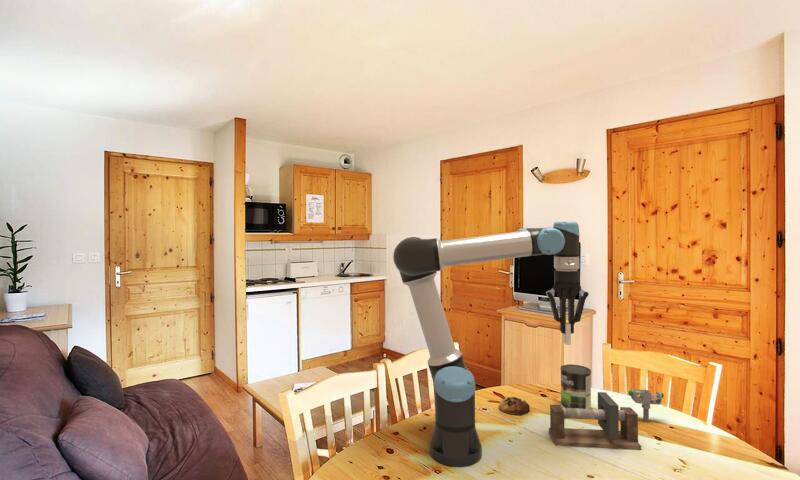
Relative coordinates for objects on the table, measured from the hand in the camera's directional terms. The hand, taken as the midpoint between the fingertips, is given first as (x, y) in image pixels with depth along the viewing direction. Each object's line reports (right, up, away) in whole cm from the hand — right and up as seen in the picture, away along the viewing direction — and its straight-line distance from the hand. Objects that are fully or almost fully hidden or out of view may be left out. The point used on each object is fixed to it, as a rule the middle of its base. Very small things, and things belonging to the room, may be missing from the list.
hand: (567, 343), depth 131 cm
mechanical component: (+29, -28, +7) cm, 41 cm away
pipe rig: (+6, -28, -5) cm, 29 cm away
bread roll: (-12, -29, +18) cm, 36 cm away
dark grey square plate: (+10, -25, -6) cm, 28 cm away
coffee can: (+11, -28, +18) cm, 35 cm away
